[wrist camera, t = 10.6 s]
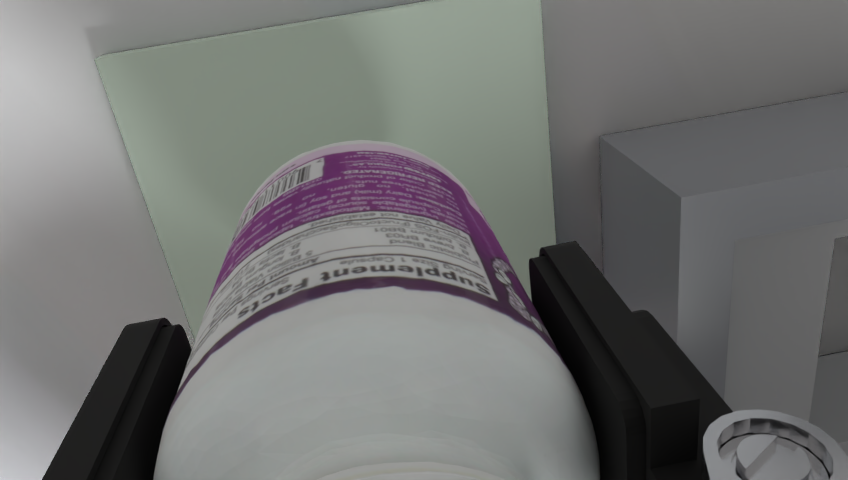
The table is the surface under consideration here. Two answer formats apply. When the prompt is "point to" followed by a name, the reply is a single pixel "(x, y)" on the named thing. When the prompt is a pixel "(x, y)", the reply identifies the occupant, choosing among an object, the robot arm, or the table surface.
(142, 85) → the sage mat
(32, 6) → the table surface
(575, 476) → the pill bottle
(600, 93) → the table surface
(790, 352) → the equipment case
